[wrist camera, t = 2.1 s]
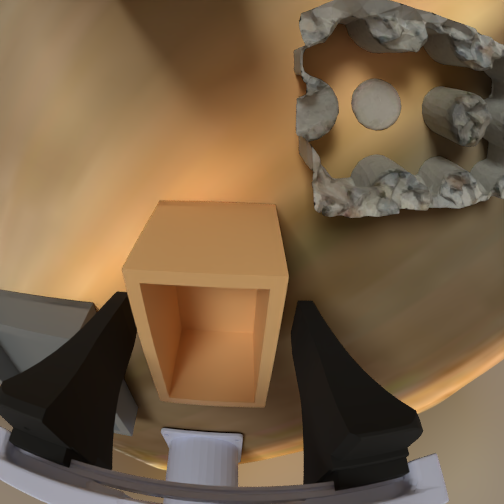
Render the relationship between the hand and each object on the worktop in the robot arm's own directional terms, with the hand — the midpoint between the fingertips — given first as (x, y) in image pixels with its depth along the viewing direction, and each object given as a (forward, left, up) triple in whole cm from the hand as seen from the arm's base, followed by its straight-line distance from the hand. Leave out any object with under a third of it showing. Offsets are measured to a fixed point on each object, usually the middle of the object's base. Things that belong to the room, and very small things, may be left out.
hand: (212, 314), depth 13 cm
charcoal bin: (-9, +14, -3) cm, 17 cm away
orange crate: (0, 0, -3) cm, 3 cm away
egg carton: (+9, -8, -3) cm, 13 cm away
